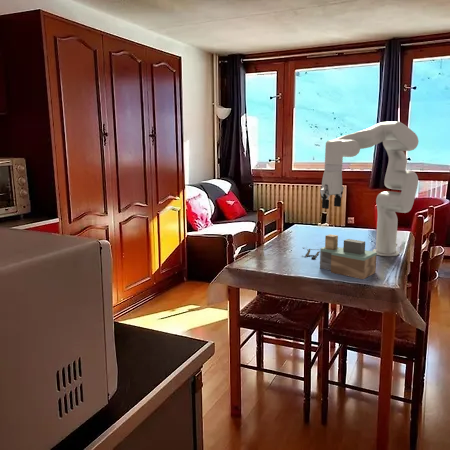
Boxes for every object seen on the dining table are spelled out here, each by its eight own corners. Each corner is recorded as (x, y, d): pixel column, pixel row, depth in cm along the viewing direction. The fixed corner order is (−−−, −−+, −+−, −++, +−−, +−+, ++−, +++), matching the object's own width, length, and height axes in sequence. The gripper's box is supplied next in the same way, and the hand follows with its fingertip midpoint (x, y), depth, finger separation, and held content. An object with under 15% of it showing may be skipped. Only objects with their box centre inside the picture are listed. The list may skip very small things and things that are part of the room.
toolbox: (330, 263, 202) (331, 247, 201) (375, 272, 188) (376, 255, 186) (316, 269, 194) (317, 252, 192) (363, 279, 179) (363, 260, 177)
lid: (331, 247, 201) (331, 234, 200) (376, 255, 186) (377, 241, 185) (317, 252, 192) (317, 238, 191) (363, 260, 177) (364, 246, 176)
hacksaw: (315, 260, 209) (315, 257, 209) (294, 259, 212) (294, 256, 212) (322, 249, 231) (322, 246, 231) (303, 247, 235) (303, 245, 234)
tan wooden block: (329, 259, 198) (330, 234, 196) (337, 261, 195) (337, 235, 193) (324, 261, 195) (325, 235, 193) (332, 263, 192) (333, 237, 190)
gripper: (336, 167, 197) (334, 204, 200) (314, 169, 185) (313, 208, 188) (351, 168, 192) (349, 206, 195) (329, 169, 180) (327, 210, 183)
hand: (331, 207), depth 192 cm, fingers open, 9 cm apart
